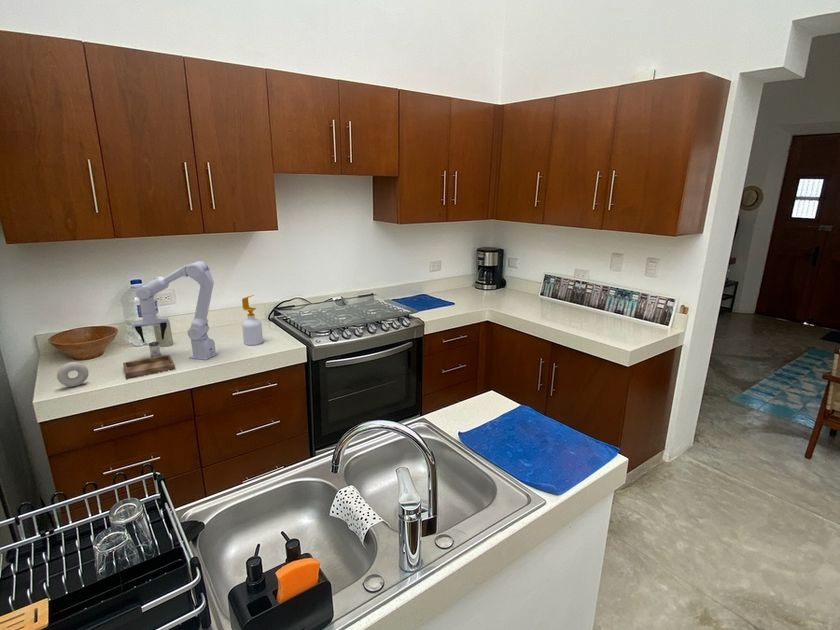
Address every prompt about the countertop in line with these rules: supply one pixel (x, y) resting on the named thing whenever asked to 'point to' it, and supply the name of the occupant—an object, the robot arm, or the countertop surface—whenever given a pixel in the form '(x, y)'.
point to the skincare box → (167, 335)
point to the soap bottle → (251, 326)
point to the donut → (72, 366)
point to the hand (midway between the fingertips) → (153, 340)
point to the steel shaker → (154, 349)
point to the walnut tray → (148, 366)
